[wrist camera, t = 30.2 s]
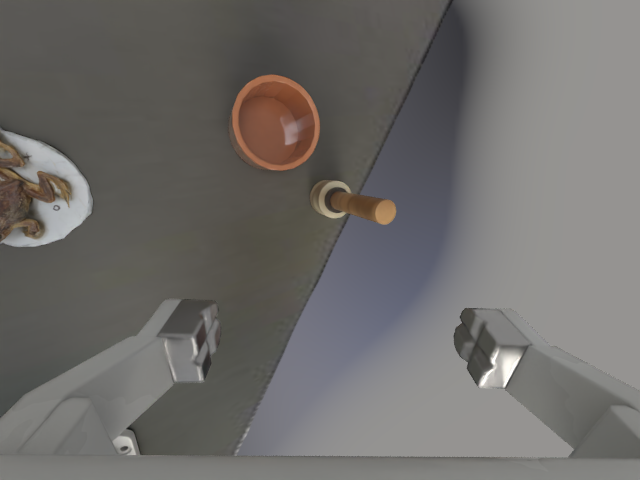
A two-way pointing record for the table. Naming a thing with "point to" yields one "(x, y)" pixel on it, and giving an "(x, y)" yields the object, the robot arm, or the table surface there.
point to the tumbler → (273, 124)
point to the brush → (349, 203)
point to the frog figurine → (38, 192)
